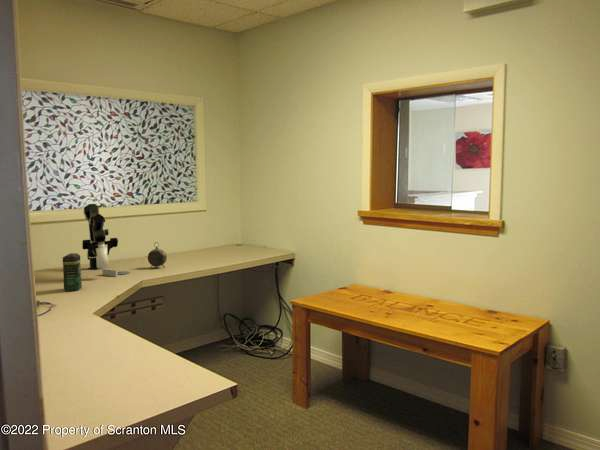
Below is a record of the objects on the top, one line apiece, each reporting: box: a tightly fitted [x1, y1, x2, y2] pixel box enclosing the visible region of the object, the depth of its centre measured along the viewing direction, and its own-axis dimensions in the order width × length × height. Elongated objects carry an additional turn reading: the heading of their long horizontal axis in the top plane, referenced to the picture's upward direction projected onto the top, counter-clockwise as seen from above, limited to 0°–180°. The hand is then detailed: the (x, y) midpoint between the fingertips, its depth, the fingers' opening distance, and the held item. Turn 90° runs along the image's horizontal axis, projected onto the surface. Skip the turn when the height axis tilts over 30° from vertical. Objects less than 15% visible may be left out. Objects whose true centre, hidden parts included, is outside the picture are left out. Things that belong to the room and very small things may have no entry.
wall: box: [101, 268, 119, 278], centre depth 298 cm, size 11×1×4 cm, turn 62°
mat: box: [118, 270, 131, 276], centre depth 304 cm, size 9×9×1 cm
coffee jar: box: [62, 252, 83, 292], centre depth 263 cm, size 10×8×19 cm
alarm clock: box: [147, 242, 168, 269], centre depth 320 cm, size 11×5×16 cm, turn 84°
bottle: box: [96, 242, 109, 269], centre depth 289 cm, size 6×6×14 cm
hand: (102, 255), depth 288 cm, fingers closed on bottle, 6 cm apart
